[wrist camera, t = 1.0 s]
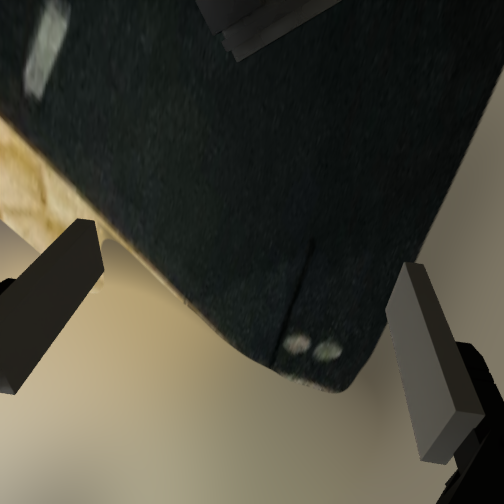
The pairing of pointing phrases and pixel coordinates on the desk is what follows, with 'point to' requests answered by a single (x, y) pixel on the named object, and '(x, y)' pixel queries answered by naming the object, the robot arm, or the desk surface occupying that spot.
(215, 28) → the ram
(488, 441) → the robot arm
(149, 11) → the desk surface
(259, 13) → the press bed
